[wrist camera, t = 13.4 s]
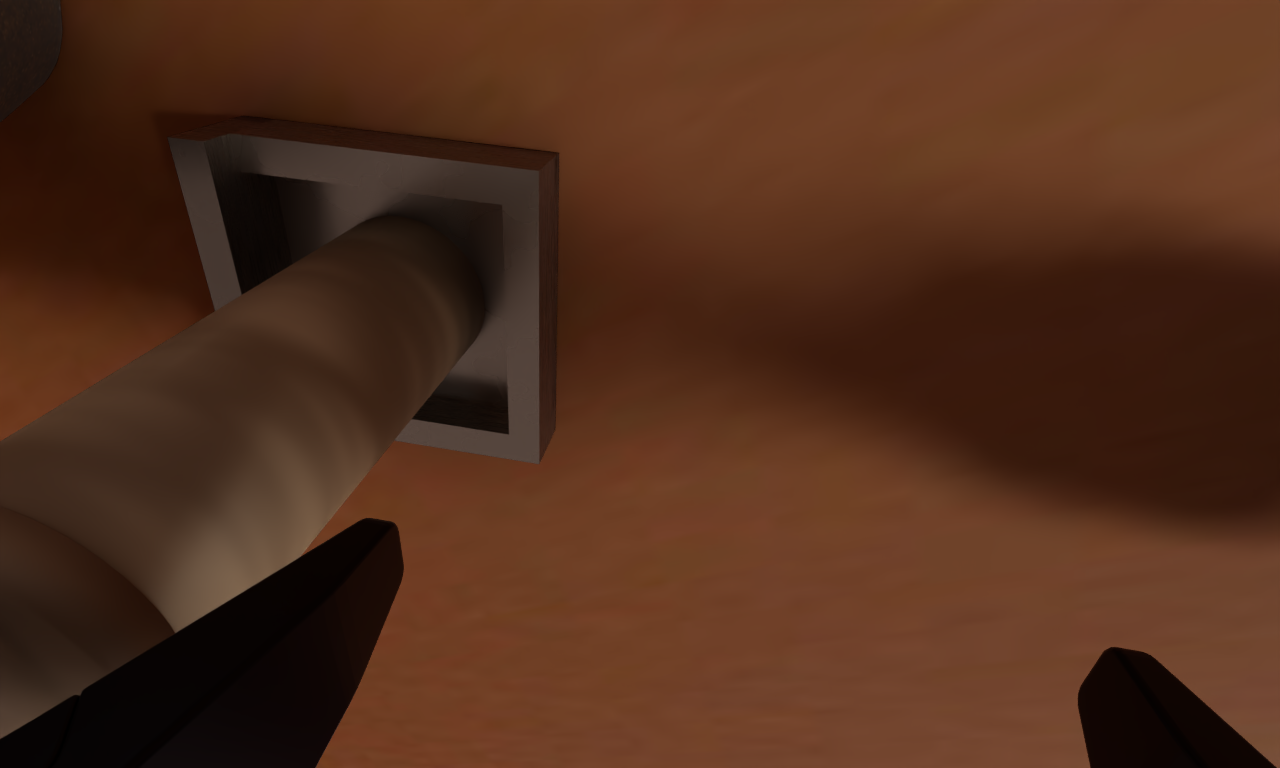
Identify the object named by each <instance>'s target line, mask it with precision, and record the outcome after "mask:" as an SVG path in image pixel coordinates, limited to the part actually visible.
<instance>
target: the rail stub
mask: <svg viewBox="0 0 1280 768" xmlns="http://www.w3.org/2000/svg"><path fill="white" fill-rule="evenodd" d="M484 308H485V305H484V296H483V291H482V287H481V284H480V281H479V279H478V276H477V274H476V272H475V270H474V268H473V266H472V265H471V263H470V262H469V260H468V259H467V257H466V256H465V255H464V254H463V252H462V251H461V250H460V249H459V248H458V247H457V246H456V245H455V244H454V243H453V242H452V241H451V240H450V239H449V238H447V237H446V236H445V235H443V234H442V233H441V232H439V231H437V230H436V229H434V228H433V227H431V226H428V225H426V224H424V223H422V222H419V221H416V220H413V219H410V218H405V217H399V216H381V217H376V218H371V219H369V220H366V221H364V222H361V223H360V224H358V225H356V226H355V227H353V228H351V229H350V230H348V231H347V232H345V233H343V234H342V235H340V236H338V237H337V238H335V239H333V240H332V241H330V242H328V243H327V244H325V245H323V246H322V247H320V248H318V249H317V250H315V251H314V252H312V253H310V254H309V255H307V256H305V257H304V258H302V259H300V260H299V261H297V262H295V263H294V264H292V265H290V266H289V267H287V268H286V269H284V270H282V271H281V272H279V273H277V274H276V275H274V276H272V277H271V278H269V279H267V280H266V281H264V282H262V283H261V284H259V285H257V286H256V287H254V288H253V289H251V290H249V291H248V292H246V293H244V294H243V295H241V296H239V297H238V298H236V299H234V300H233V301H231V302H229V303H228V304H226V305H225V306H223V307H221V308H220V309H218V310H216V311H215V312H213V313H211V314H210V315H208V316H206V317H205V318H203V319H201V320H200V321H198V322H196V323H195V324H193V325H192V326H190V327H188V328H187V329H185V330H183V331H182V332H180V333H178V334H177V335H175V336H173V337H172V338H170V339H168V340H167V341H165V342H164V343H162V344H160V345H159V346H157V347H155V348H154V349H152V350H150V351H149V352H147V353H145V354H144V355H142V356H140V357H139V358H137V359H135V360H134V361H132V362H131V363H129V364H127V365H126V366H124V367H122V368H121V369H119V370H117V371H116V372H114V373H112V374H111V375H109V376H107V377H106V378H104V379H103V380H101V381H99V382H98V383H96V384H94V385H93V386H91V387H89V388H88V389H86V390H84V391H83V392H81V393H79V394H78V395H76V396H75V397H73V398H71V399H70V400H68V401H66V402H65V403H63V404H61V405H60V406H58V407H56V408H55V409H53V410H51V411H50V412H48V413H46V414H45V415H43V416H42V417H40V418H38V419H37V420H35V421H33V422H32V423H30V424H28V425H27V426H25V427H23V428H22V429H20V430H18V431H17V432H15V433H14V434H12V435H10V436H9V437H7V438H5V439H4V440H2V441H0V739H1V738H3V737H4V736H6V735H8V734H9V733H11V732H13V731H14V730H16V729H18V728H20V727H21V726H23V725H25V724H26V723H28V722H30V721H31V720H33V719H35V718H36V717H38V716H40V715H41V714H43V713H45V712H46V711H48V710H50V709H51V708H53V707H55V706H56V705H58V704H59V703H61V702H63V701H64V700H66V699H68V698H69V697H71V696H73V695H80V694H81V692H82V690H83V689H85V688H86V687H88V686H89V685H91V684H93V683H94V682H96V681H98V680H99V679H101V678H103V677H104V676H106V675H107V674H109V673H111V672H112V671H114V670H116V669H117V668H119V667H121V666H122V665H124V664H125V663H127V662H129V661H130V660H132V659H134V658H135V657H137V656H139V655H140V654H142V653H144V652H145V651H147V650H148V649H150V648H152V647H153V646H155V645H157V644H158V643H160V642H162V641H163V640H165V639H166V638H168V637H170V636H171V635H173V634H175V633H176V632H178V631H180V630H181V629H183V628H184V627H186V626H188V625H189V624H191V623H193V622H194V621H196V620H198V619H199V618H201V617H203V616H204V615H206V614H207V613H209V612H211V611H212V610H214V609H216V608H217V607H219V606H221V605H222V604H224V603H225V602H227V601H229V600H230V599H232V598H234V597H235V596H237V595H239V594H240V593H242V592H244V591H245V590H247V589H248V588H250V587H252V586H253V585H255V584H257V583H258V582H260V581H262V580H263V579H265V578H266V577H268V576H270V575H271V574H273V573H275V572H276V571H278V570H280V569H281V568H283V567H284V566H286V565H288V564H289V563H291V562H293V561H294V560H296V559H298V558H299V557H300V556H301V555H302V554H303V552H304V551H305V550H306V549H307V548H308V546H309V545H310V544H311V543H312V541H313V540H314V539H315V538H316V536H317V535H318V534H319V533H320V531H321V530H322V529H323V528H324V527H325V525H326V524H327V523H328V522H329V520H330V519H331V518H332V517H333V515H334V514H335V513H336V512H337V510H338V509H339V508H340V507H341V505H342V504H343V503H344V502H345V501H346V499H347V498H348V497H349V496H350V494H351V493H352V492H353V491H354V489H355V488H356V487H357V486H358V484H359V483H360V482H361V481H362V480H363V478H364V477H365V476H366V475H367V473H368V472H369V471H370V470H371V468H372V467H373V466H374V465H375V463H376V462H377V461H378V460H379V459H380V457H381V456H382V455H383V454H384V452H385V451H386V450H387V449H388V447H389V446H390V445H391V444H392V442H393V441H394V440H395V439H396V438H397V436H398V435H399V434H400V433H401V431H402V430H403V429H404V428H405V426H406V425H407V424H408V423H409V421H410V420H411V419H412V418H413V417H414V415H415V414H416V413H417V412H418V410H419V409H420V408H421V407H422V405H423V404H424V403H425V402H426V400H427V399H428V398H429V397H430V396H431V394H432V393H433V392H434V391H435V389H436V388H437V387H438V386H439V384H440V383H441V382H442V381H443V379H444V378H445V377H446V376H447V374H448V373H449V372H450V371H451V370H452V368H453V367H454V366H455V365H456V363H457V362H458V361H459V360H460V358H461V357H462V356H463V355H464V353H465V352H466V351H467V350H468V349H469V347H470V346H471V345H472V344H473V342H474V341H475V340H476V338H477V336H478V334H479V332H480V330H481V327H482V324H483V319H484Z"/></svg>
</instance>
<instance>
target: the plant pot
mask: <svg viewBox="0 0 1280 768" xmlns="http://www.w3.org/2000/svg"><path fill="white" fill-rule="evenodd" d="M61 41H62V17H61V5H60V0H0V122H1V121H2V120H4V119H5V118H6V117H7V116H8V115H9V114H11V113H12V112H13V111H14V110H15V109H16V108H17V107H19V106H20V105H21V104H22V103H23V102H24V101H25V100H26V99H27V98H28V97H29V96H31V95H32V94H33V93H34V92H35V91H36V90H37V89H38V88H39V87H40V86H42V85H43V84H44V82H45V81H46V80H47V79H48V78H49V76H50V74H51V72H52V70H53V68H54V66H55V65H56V63H57V60H58V56H59V53H60V47H61Z"/></svg>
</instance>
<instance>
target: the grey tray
mask: <svg viewBox="0 0 1280 768" xmlns="http://www.w3.org/2000/svg"><path fill="white" fill-rule="evenodd" d="M167 138H168V142H169V145H170V149H171V153H172V156H173V160H174V163H175V167H176V171H177V174H178V178H179V182H180V185H181V189H182V192H183V196H184V200H185V203H186V207H187V211H188V214H189V218H190V222H191V225H192V229H193V232H194V236H195V240H196V243H197V247H198V251H199V254H200V258H201V261H202V265H203V269H204V272H205V276H206V280H207V283H208V287H209V291H210V294H211V298H212V301H213V305H214V309H215V311H216V310H218V309H220V308H221V307H223V306H225V305H226V304H228V303H229V302H231V301H233V300H234V299H236V298H238V297H239V296H241V295H243V294H244V293H246V292H248V291H249V290H251V289H253V288H254V287H256V286H257V285H259V284H261V283H262V282H264V281H266V280H267V279H269V278H271V277H272V276H274V275H276V274H277V273H279V272H281V271H282V270H284V269H286V268H287V267H289V266H290V265H292V264H294V263H295V262H297V261H299V260H300V259H302V258H304V257H305V256H307V255H309V254H310V253H312V252H314V251H315V250H317V249H318V248H320V247H322V246H323V245H325V244H327V243H328V242H330V241H332V240H333V239H335V238H337V237H338V236H340V235H342V234H343V233H345V232H347V231H348V230H350V229H351V228H353V227H355V226H356V225H358V224H360V223H361V222H364V221H366V220H369V219H371V218H376V217H381V216H399V217H405V218H410V219H413V220H416V221H419V222H422V223H424V224H426V225H428V226H431V227H433V228H434V229H436V230H437V231H439V232H441V233H442V234H443V235H445V236H446V237H447V238H449V239H450V240H451V241H452V242H453V243H454V244H455V245H456V246H457V247H458V248H459V249H460V250H461V251H462V252H463V254H464V255H465V256H466V257H467V259H468V260H469V262H470V263H471V265H472V266H473V268H474V270H475V272H476V274H477V276H478V279H479V281H480V284H481V287H482V291H483V296H484V305H485V308H484V319H483V324H482V327H481V330H480V332H479V334H478V336H477V338H476V340H475V341H474V342H473V344H472V345H471V346H470V347H469V349H468V350H467V351H466V352H465V353H464V355H463V356H462V357H461V358H460V360H459V361H458V362H457V363H456V365H455V366H454V367H453V368H452V370H451V371H450V372H449V373H448V374H447V376H446V377H445V378H444V379H443V381H442V382H441V383H440V384H439V386H438V387H437V388H436V389H435V391H434V392H433V393H432V394H431V396H430V397H429V398H428V399H427V400H426V402H425V403H424V404H423V405H422V407H421V408H420V409H419V410H418V412H417V413H416V414H415V415H414V417H413V418H412V419H411V420H410V421H409V423H408V424H407V425H406V426H405V428H404V429H403V430H402V431H401V433H400V434H399V435H398V436H397V438H396V439H395V441H401V442H407V443H413V444H419V445H425V446H431V447H438V448H444V449H450V450H456V451H462V452H468V453H474V454H481V455H487V456H493V457H499V458H505V459H511V460H517V461H523V462H530V463H536V464H540V462H541V459H542V457H543V455H544V453H545V451H546V449H547V447H548V444H549V442H550V440H551V438H552V436H553V434H554V431H555V421H556V347H557V272H558V198H559V153H554V152H546V151H537V150H529V149H520V148H512V147H503V146H495V145H486V144H478V143H470V142H461V141H453V140H444V139H436V138H427V137H419V136H410V135H402V134H393V133H385V132H377V131H368V130H360V129H351V128H343V127H334V126H326V125H317V124H309V123H300V122H292V121H283V120H275V119H267V118H258V117H250V116H240V117H237V118H233V119H229V120H226V121H222V122H219V123H215V124H212V125H208V126H205V127H201V128H198V129H194V130H190V131H187V132H183V133H180V134H176V135H173V136H169V137H167Z"/></svg>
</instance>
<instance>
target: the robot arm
mask: <svg viewBox="0 0 1280 768" xmlns="http://www.w3.org/2000/svg"><path fill="white" fill-rule="evenodd" d="M403 571H404V563H403V557H402V550H401V543H400V537H399V531H398V527H397V526H396V524H395V523H393V522H391V521H385V520H379V519H373V518H365V519H362V520H360V521H358V522H357V523H355V524H353V525H352V526H350V527H348V528H347V529H345V530H344V531H342V532H340V533H339V534H337V535H335V536H334V537H332V538H330V539H329V540H327V541H325V542H324V543H322V544H321V545H319V546H317V547H316V548H314V549H312V550H311V551H309V552H307V553H306V554H304V555H303V556H301V557H299V558H298V559H296V560H294V561H293V562H291V563H289V564H288V565H286V566H284V567H283V568H281V569H280V570H278V571H276V572H275V573H273V574H271V575H270V576H268V577H266V578H265V579H263V580H262V581H260V582H258V583H257V584H255V585H253V586H252V587H250V588H248V589H247V590H245V591H244V592H242V593H240V594H239V595H237V596H235V597H234V598H232V599H230V600H229V601H227V602H225V603H224V604H222V605H221V606H219V607H217V608H216V609H214V610H212V611H211V612H209V613H207V614H206V615H204V616H203V617H201V618H199V619H198V620H196V621H194V622H193V623H191V624H189V625H188V626H186V627H184V628H183V629H181V630H180V631H178V632H176V633H175V634H173V635H171V636H170V637H168V638H166V639H165V640H163V641H162V642H160V643H158V644H157V645H155V646H153V647H152V648H150V649H148V650H147V651H145V652H144V653H142V654H140V655H139V656H137V657H135V658H134V659H132V660H130V661H129V662H127V663H125V664H124V665H122V666H121V667H119V668H117V669H116V670H114V671H112V672H111V673H109V674H107V675H106V676H104V677H103V678H101V679H99V680H98V681H96V682H94V683H93V684H91V685H89V686H88V687H86V688H85V689H83V690H82V692H81V694H80V695H73V696H71V697H69V698H68V699H66V700H64V701H63V702H61V703H59V704H58V705H56V706H55V707H53V708H51V709H50V710H48V711H46V712H45V713H43V714H41V715H40V716H38V717H36V718H35V719H33V720H31V721H30V722H28V723H26V724H25V725H23V726H21V727H20V728H18V729H16V730H14V731H13V732H11V733H9V734H8V735H6V736H4V737H3V738H1V739H0V768H315V767H316V766H317V764H318V762H319V760H320V758H321V756H322V754H323V753H324V751H325V749H326V747H327V745H328V743H329V741H330V739H331V738H332V736H333V734H334V732H335V730H336V728H337V726H338V725H339V723H340V721H341V719H342V717H343V715H344V713H345V712H346V710H347V708H348V706H349V704H350V702H351V700H352V698H353V696H354V694H355V692H356V690H357V688H358V686H359V683H360V681H361V679H362V677H363V674H364V672H365V670H366V667H367V665H368V662H369V660H370V657H371V655H372V652H373V650H374V647H375V645H376V643H377V640H378V638H379V635H380V633H381V630H382V628H383V625H384V623H385V621H386V618H387V616H388V613H389V611H390V608H391V606H392V603H393V601H394V599H395V596H396V594H397V591H398V589H399V586H400V584H401V581H402V577H403ZM1078 709H1079V714H1080V719H1081V723H1082V728H1083V733H1084V738H1085V743H1086V748H1087V753H1088V758H1089V762H1090V767H1091V768H1276V767H1275V766H1274V765H1273V764H1272V763H1271V762H1270V761H1269V760H1267V759H1266V758H1265V757H1264V756H1263V755H1262V754H1261V753H1260V752H1259V751H1257V750H1256V749H1255V748H1254V747H1253V746H1252V745H1251V744H1250V743H1249V742H1247V741H1246V740H1245V739H1244V738H1243V737H1242V736H1241V735H1240V734H1239V733H1237V732H1236V731H1235V730H1234V729H1233V728H1232V727H1231V726H1230V725H1228V724H1227V723H1226V722H1225V721H1224V720H1223V719H1222V718H1221V717H1220V716H1218V715H1217V714H1216V713H1215V712H1214V711H1213V710H1212V709H1211V708H1210V707H1208V706H1207V705H1206V704H1205V703H1204V702H1203V701H1202V700H1201V699H1200V698H1198V697H1197V696H1196V695H1195V694H1194V693H1193V692H1192V691H1191V690H1189V689H1188V688H1187V687H1186V686H1185V685H1184V684H1183V683H1182V682H1181V681H1179V680H1178V679H1177V678H1176V677H1175V676H1174V675H1173V674H1172V673H1171V672H1169V671H1168V670H1167V669H1166V668H1165V667H1164V666H1163V665H1162V664H1161V663H1159V662H1158V661H1157V660H1156V659H1155V658H1153V657H1152V656H1151V655H1149V654H1147V653H1144V652H1141V651H1135V650H1130V649H1124V648H1118V647H1111V648H1109V649H1107V650H1105V651H1104V652H1103V653H1102V655H1101V656H1100V658H1099V659H1098V661H1097V662H1096V664H1095V665H1094V667H1093V668H1092V670H1091V671H1090V673H1089V674H1088V676H1087V677H1086V679H1085V680H1084V682H1083V683H1082V685H1081V687H1080V690H1079V693H1078Z"/></svg>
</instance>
